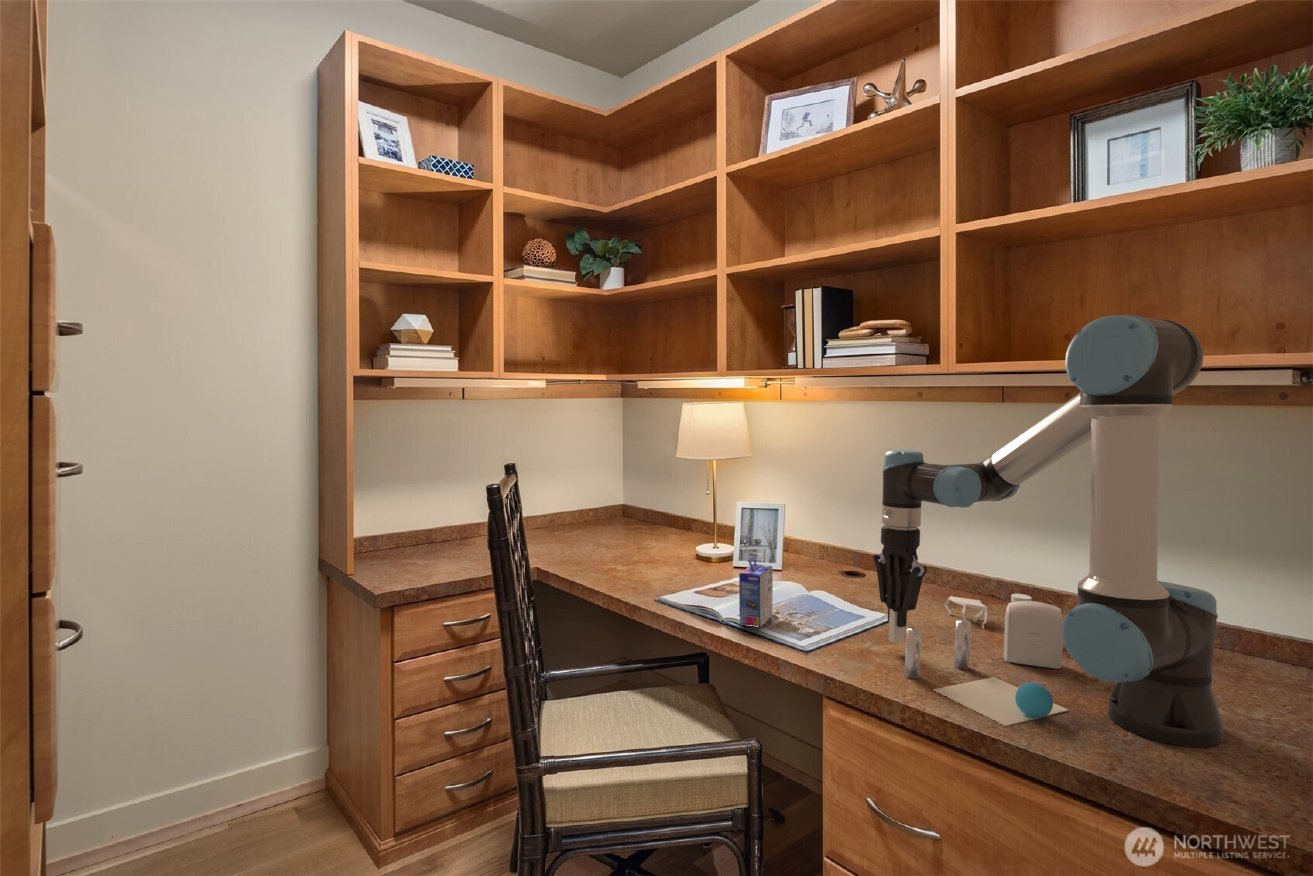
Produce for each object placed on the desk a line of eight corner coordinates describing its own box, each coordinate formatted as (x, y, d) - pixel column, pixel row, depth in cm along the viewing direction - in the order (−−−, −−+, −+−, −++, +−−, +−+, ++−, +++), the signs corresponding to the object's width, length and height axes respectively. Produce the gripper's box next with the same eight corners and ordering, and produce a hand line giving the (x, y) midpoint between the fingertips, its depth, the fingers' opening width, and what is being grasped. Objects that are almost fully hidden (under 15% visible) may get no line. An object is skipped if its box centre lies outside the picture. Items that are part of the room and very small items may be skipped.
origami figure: (999, 623, 168) (1000, 602, 168) (984, 631, 162) (985, 609, 162) (949, 611, 177) (949, 591, 176) (933, 618, 171) (934, 598, 171)
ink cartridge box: (750, 613, 172) (752, 553, 171) (773, 617, 170) (774, 556, 169) (737, 625, 163) (738, 562, 162) (760, 629, 161) (762, 565, 160)
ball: (1049, 722, 119) (1066, 700, 116) (1026, 728, 117) (1043, 706, 114) (1025, 694, 123) (1041, 673, 120) (1002, 699, 121) (1018, 678, 118)
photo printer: (1003, 663, 143) (1006, 601, 142) (1002, 656, 146) (1005, 596, 146) (1062, 672, 138) (1066, 608, 138) (1060, 664, 142) (1063, 602, 142)
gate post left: (922, 677, 134) (924, 630, 134) (911, 679, 133) (913, 632, 133) (912, 672, 137) (913, 626, 136) (901, 674, 135) (903, 627, 135)
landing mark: (1068, 710, 121) (1068, 709, 121) (1005, 726, 115) (1005, 725, 115) (993, 678, 135) (993, 677, 135) (933, 690, 128) (933, 689, 128)
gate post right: (971, 668, 139) (973, 622, 139) (961, 670, 138) (963, 624, 138) (960, 663, 142) (962, 618, 141) (951, 665, 141) (953, 620, 140)
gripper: (864, 522, 150) (860, 633, 152) (910, 533, 138) (905, 654, 140) (892, 520, 153) (888, 628, 155) (939, 531, 141) (934, 648, 143)
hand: (896, 640), depth 147 cm, fingers closed
